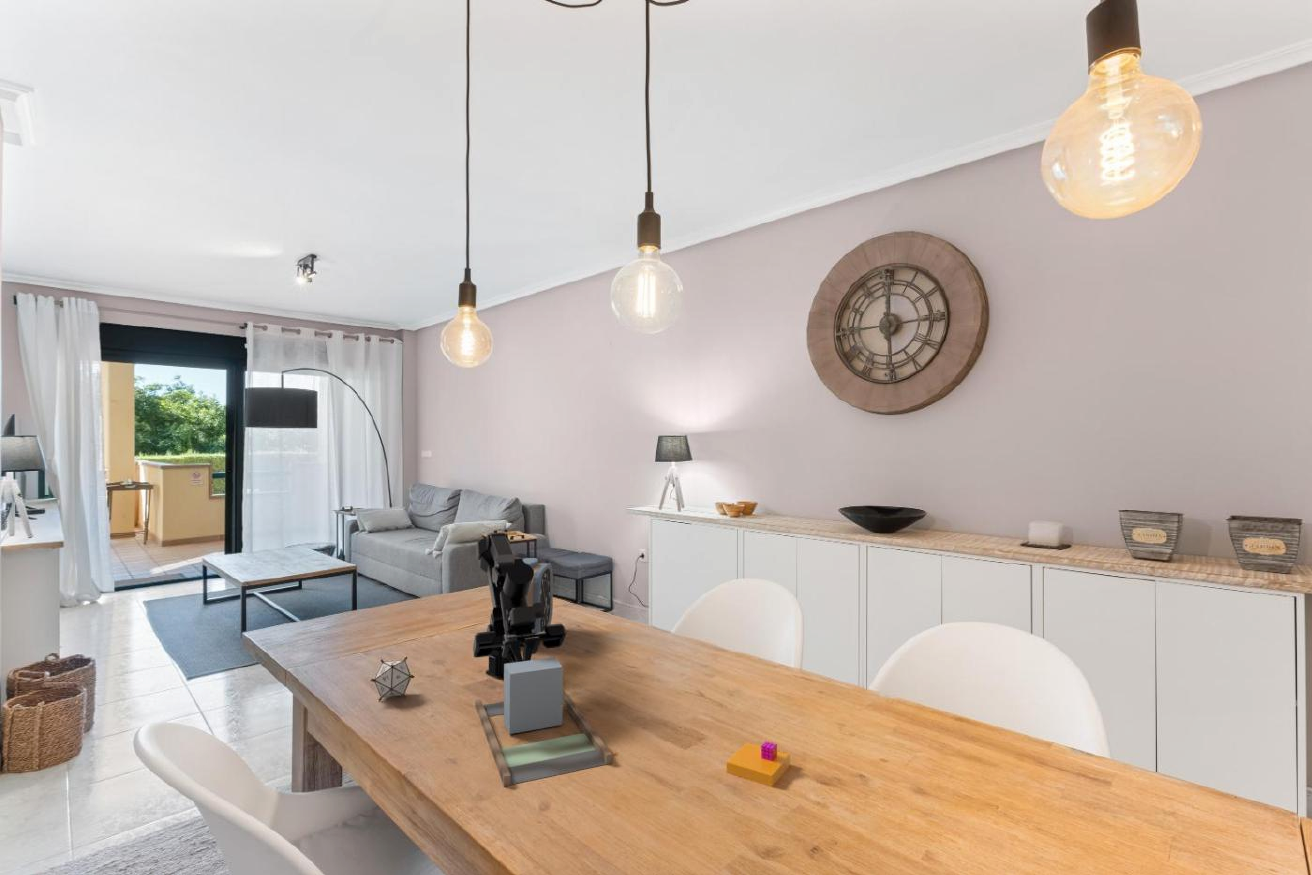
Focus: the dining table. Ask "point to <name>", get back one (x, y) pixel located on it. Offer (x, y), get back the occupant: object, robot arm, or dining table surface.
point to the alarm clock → (541, 591)
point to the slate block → (532, 694)
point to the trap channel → (544, 749)
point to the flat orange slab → (759, 763)
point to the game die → (392, 678)
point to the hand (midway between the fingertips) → (525, 678)
